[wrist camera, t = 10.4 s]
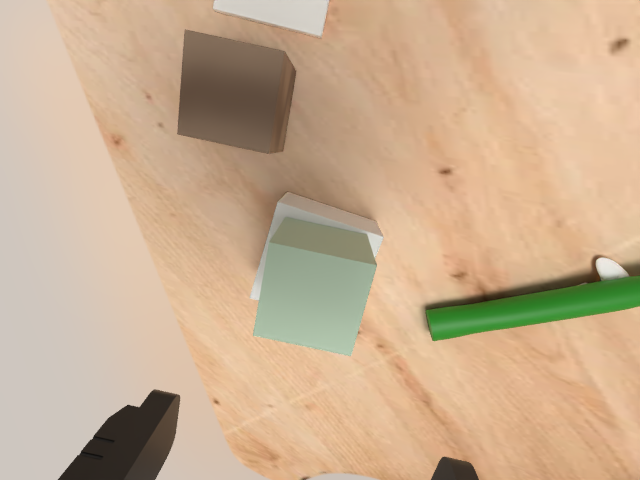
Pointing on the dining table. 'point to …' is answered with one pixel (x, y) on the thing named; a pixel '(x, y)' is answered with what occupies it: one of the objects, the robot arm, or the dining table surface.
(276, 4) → the card
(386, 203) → the dining table surface
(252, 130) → the walnut block
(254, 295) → the grey base block
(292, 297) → the sage block
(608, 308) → the green onion
